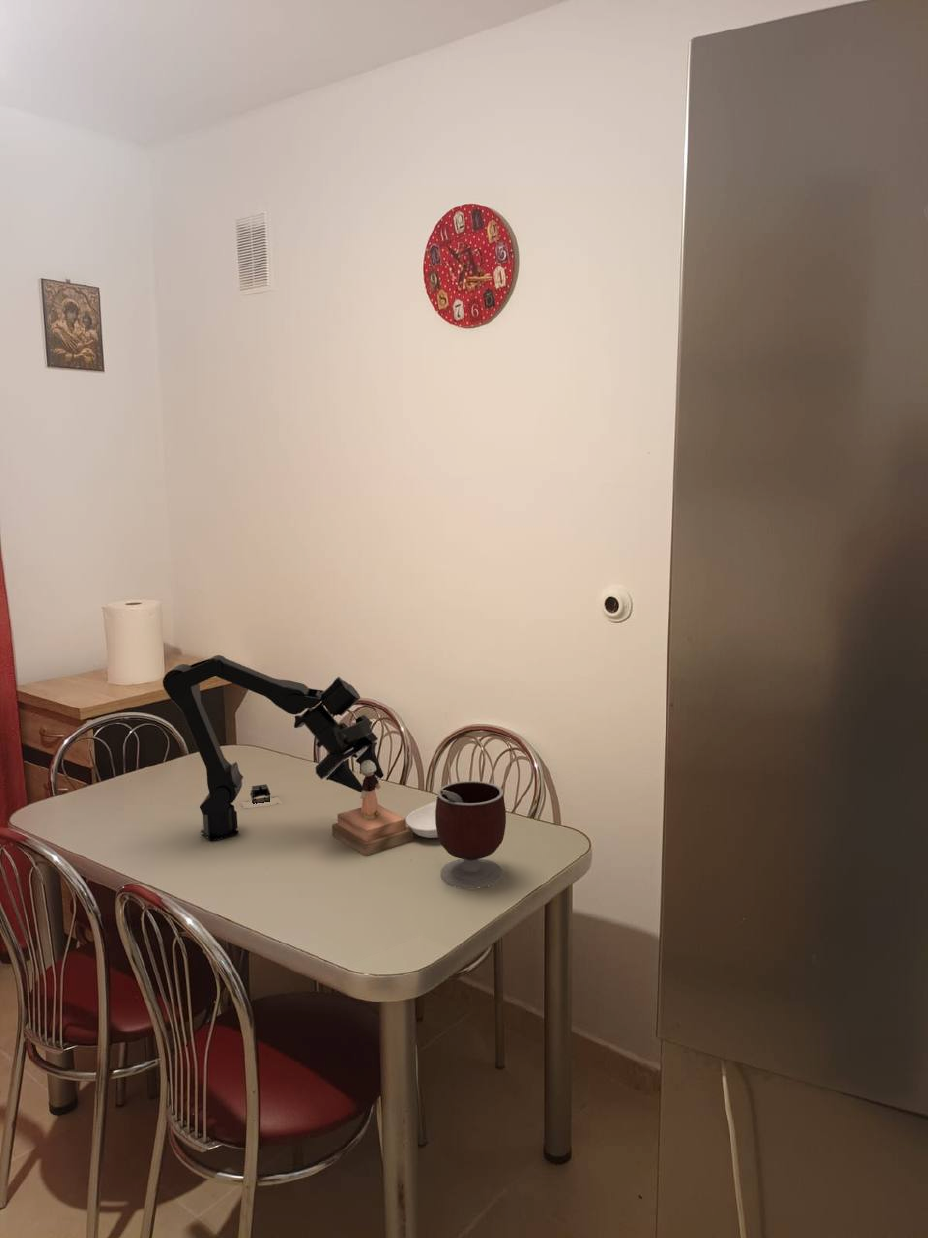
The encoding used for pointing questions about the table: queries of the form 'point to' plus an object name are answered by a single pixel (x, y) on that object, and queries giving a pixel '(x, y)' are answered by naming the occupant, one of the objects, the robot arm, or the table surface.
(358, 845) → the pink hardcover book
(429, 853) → the table surface
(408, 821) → the spoon rest
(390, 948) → the table surface
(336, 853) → the table surface
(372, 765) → the grandmother figurine
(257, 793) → the black barn door light
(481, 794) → the mate gourd
